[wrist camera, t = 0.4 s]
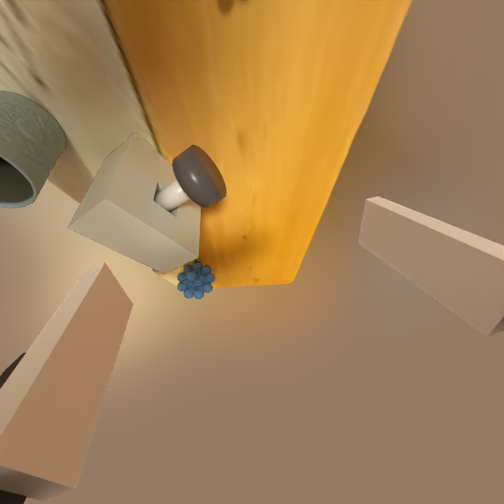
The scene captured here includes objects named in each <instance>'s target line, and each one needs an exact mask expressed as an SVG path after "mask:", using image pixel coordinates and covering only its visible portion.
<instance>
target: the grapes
mask: <svg viewBox="0 0 504 504" xmlns="http://www.w3.org/2000/svg"><path fill="white" fill-rule="evenodd" d="M184 272H185V273H183V272H182V273H179V274H178V280H179V281H180V282H179V283H178V285H177V287H178V290H180V291H184V296H185V297H186V298H192V297H193V295H194V297H195V298H197V299H201V298H202V297H203V296H204V292H206V293H209V292H211V291H212V288H213V287H212V285H211V284H210V283H212V282H214V281H215V276H214V275H213V274H212V273H210V272H211V268H210V267H209V266H208V265H204V266H202V264H201V263H199V262H196V263H194V264H193V267H192V266H191V265H186V266H185V267H184ZM203 291H204V292H203Z"/></svg>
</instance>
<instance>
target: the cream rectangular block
mask: <svg viewBox="0 0 504 504" xmlns="http://www.w3.org/2000/svg"><path fill="white" fill-rule="evenodd" d="M176 180H177V179H176V177H175V174H174V171H173V166H172V165H171V164H170V163H169V162H168V161H166V160H165V159H164V158H163V157H162V156H161V155H160V154H159V153H158V152H157V151H156V150H155V149H154V148H153V147H152V146H151V145H150V144H149V143H148V142H147V141H146V140H145V139H144V138H143V137H142V136H141V135H140V134H139V133H138V132H135V133H134V134H132V135H131V136H130V137H129V138H128V139H127V140H126V141H125V142H123V143H122V144H121V145H120V146H119V147H118V148H117V149H116V150H114V151H113V152H112V153H111V154H110V155H109V156H108V157H107V158H105V160H104V162H103V164H102V165H101V167H100V169H99V171H98V173H97V175H96V176H95V178H94V180H93V182H92V184H91V185H90V187H89V189H88V191H87V193H86V195H85V196H84V198H83V200H82V202H81V204H80V205H79V207H78V209H77V211H76V213H75V215H74V217H73V218H72V220H71V222H70V224H69V226H68V227H67V228H68V229H70V230H72V231H74V232H76V233H78V234H80V235H83V236H85V237H87V238H89V239H91V240H93V241H95V242H97V243H100V244H102V245H104V246H106V247H108V248H110V249H112V250H115V251H117V252H119V253H121V254H123V255H125V256H127V257H130V258H132V259H134V260H136V261H138V262H140V263H142V264H145V265H146V266H149V267H151V268H153V269H155V270H157V271H159V272H161V273H164V274H165V273H167V272H169V271H171V270H174V269H176V268H178V267H180V266H182V265H184V264H186V263H188V262H190V261H192V260H194V259H197V258H199V241H200V220H201V206H199V205H197V204H196V203H194V202H193V201H192V200H191V199H189V200H187V201H186V202H184V203H182V204H181V205H179V206H178V207H176V208H174V209H173V210H171V211H170V212H168V211H167V210H165V209H164V208H163V207H161V206H160V205H159V204H157V203H156V202H155V201H153V199H154V195H155V194H157V193H158V192H160V191H161V190H163V189H164V188H166V187H167V186H169V185H170V184H172V183H173V182H174V181H176Z"/></svg>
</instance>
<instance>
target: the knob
mask: <svg viewBox="0 0 504 504" xmlns="http://www.w3.org/2000/svg"><path fill="white" fill-rule="evenodd" d="M172 166H173V171H174V174H175V177H176V179H177V180H176V181H174V182H173V183H172V184H170V185H169V186H167V187H166V188H164V189H163V190H161V191H160V192H158V193H157V194H155V195H154V199H153V201H155V202H156V203H157V204H159V205H160V206H161V207H163V208H164V209H165V210H167V211H168V212H170V211H171V210H173V209H174V208H176V207H178V206H179V205H181V204H182V203H184V202H186V201H187V200H189V199H191V200H192V201H193V202H194V203H196V204H197V205H199V206H201V207H204V208H206V207H209V206H211V205H212V204H214V203H216V202H218V201H219V200H221V199H223V198H224V197H225V196H226V186H225V183H224V180H223V178H222V175H221V173H220V171H219V170H218V168H217V166H216V165H215V163H214V162H213V161H212V159H211V158H210V157H209V156H208V154H207V153H206V152H205V151H203V150H202V149H201V148H200V147H198V146H196V145H192V146H190V147H189V148H188V149H186V150H185V151H184V152H182V153H181V154H180V155H178V156H177V157H176V158H174V160H173V163H172Z"/></svg>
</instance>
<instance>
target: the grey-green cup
mask: <svg viewBox="0 0 504 504" xmlns="http://www.w3.org/2000/svg"><path fill="white" fill-rule="evenodd" d="M66 143H67V142H66V137H65V134H64V132H63V130H62V128H61V126H60V125H59V124H58V122H57V121H56V120H55V118H54V117H53V116H52V115H51V114H50V113H49V112H48V111H47V110H45V109H44V108H43V107H41V106H40V105H39V104H37V103H35V102H34V101H32V100H30V99H28V98H26V97H24V96H22V95H19V94H16V93H12V92H5V91H0V207H4V208H21V207H25V206H27V205H29V204H31V203H33V202H34V201H35V200H36V198H37V196H38V194H39V192H40V191H41V189H42V187H43V185H44V183H45V181H46V179H47V177H48V175H49V173H50V170H51V169H53V167H54V164H55V162H56V160H57V158H58V157H59V156H60V155H61V154H62V152H63V150H64V149H65V146H66Z"/></svg>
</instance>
